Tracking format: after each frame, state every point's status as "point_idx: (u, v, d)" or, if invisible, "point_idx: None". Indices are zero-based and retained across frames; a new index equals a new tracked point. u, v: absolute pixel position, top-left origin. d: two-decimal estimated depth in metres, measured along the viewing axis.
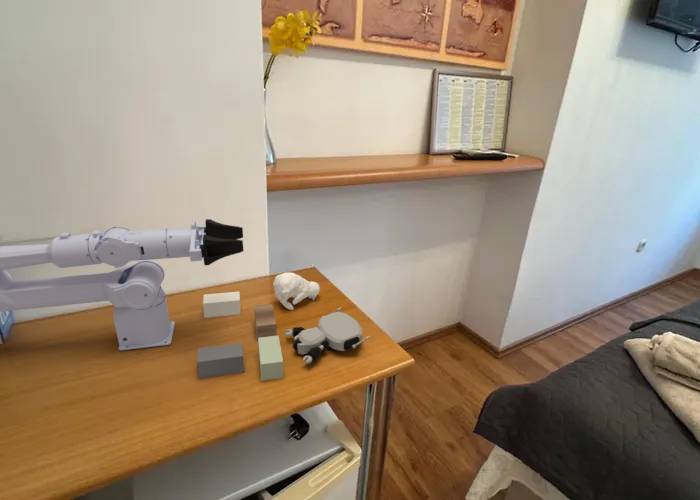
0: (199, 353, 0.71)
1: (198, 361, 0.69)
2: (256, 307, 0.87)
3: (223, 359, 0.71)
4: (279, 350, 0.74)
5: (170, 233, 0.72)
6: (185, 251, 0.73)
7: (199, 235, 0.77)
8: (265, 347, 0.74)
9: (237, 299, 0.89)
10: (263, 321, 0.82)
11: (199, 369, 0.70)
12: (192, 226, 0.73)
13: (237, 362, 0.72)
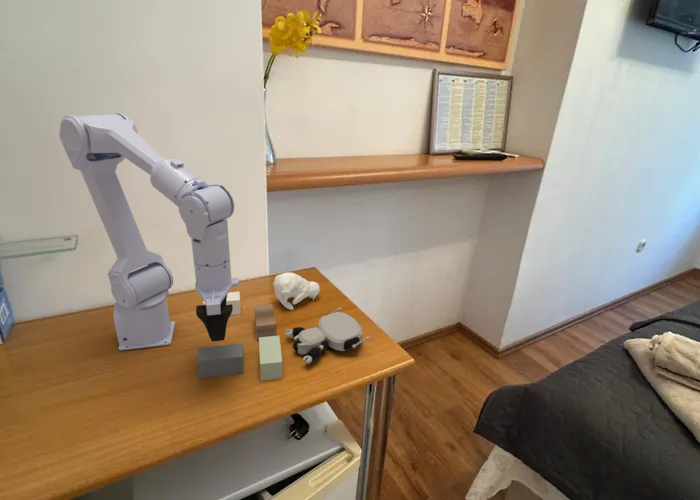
0: (199, 353, 0.72)
1: (198, 361, 0.70)
2: (256, 307, 0.87)
3: (223, 360, 0.71)
4: (279, 350, 0.73)
5: (227, 265, 0.64)
6: (207, 283, 0.63)
7: None
8: (265, 347, 0.74)
9: (237, 299, 0.89)
10: (263, 321, 0.82)
11: (199, 369, 0.70)
12: (235, 284, 0.66)
13: (237, 362, 0.72)
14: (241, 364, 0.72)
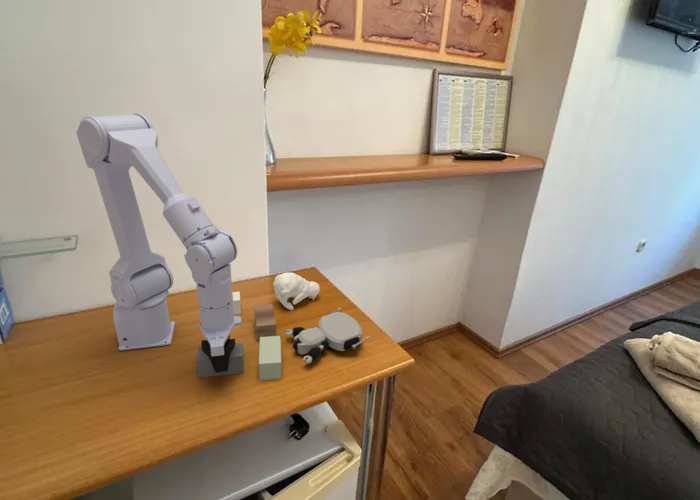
0: (199, 351, 0.71)
1: (197, 359, 0.70)
2: (256, 307, 0.86)
3: None
4: (279, 351, 0.73)
5: (230, 307, 0.67)
6: (211, 324, 0.66)
7: None
8: (265, 347, 0.74)
9: (237, 299, 0.89)
10: (263, 321, 0.82)
11: (198, 367, 0.70)
12: (238, 323, 0.70)
13: (236, 362, 0.71)
14: (241, 363, 0.72)
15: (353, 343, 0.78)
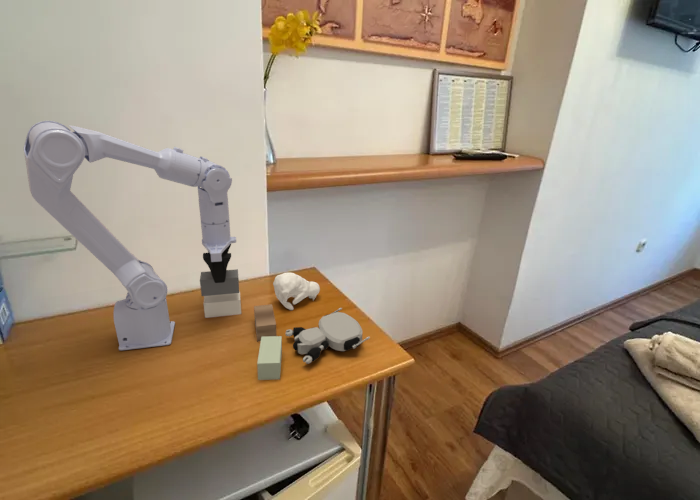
0: (201, 275, 0.86)
1: (201, 280, 0.84)
2: (256, 307, 0.86)
3: None
4: (278, 351, 0.73)
5: (227, 225, 0.81)
6: (211, 238, 0.80)
7: None
8: (266, 347, 0.74)
9: (238, 299, 0.89)
10: (263, 321, 0.82)
11: (201, 287, 0.84)
12: (233, 241, 0.83)
13: (233, 282, 0.86)
14: (237, 284, 0.86)
15: (353, 343, 0.78)
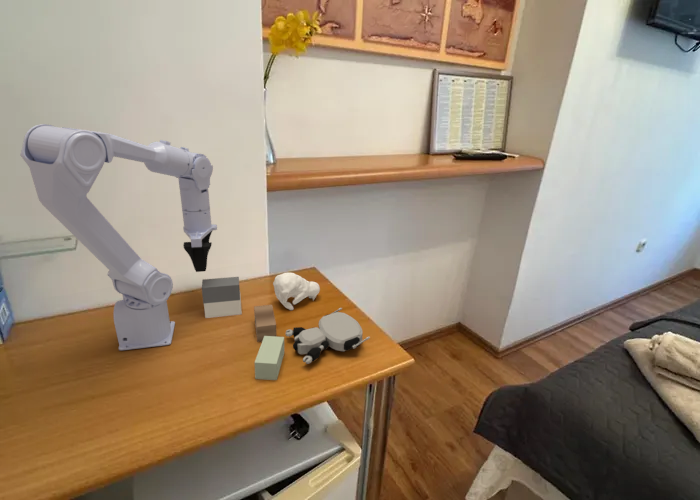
0: (203, 282, 0.87)
1: (202, 287, 0.85)
2: (256, 308, 0.86)
3: (223, 287, 0.86)
4: (278, 352, 0.73)
5: (207, 212, 0.84)
6: (192, 225, 0.83)
7: None
8: (266, 346, 0.74)
9: None
10: (263, 321, 0.82)
11: (203, 294, 0.86)
12: (214, 228, 0.87)
13: (234, 290, 0.87)
14: (238, 291, 0.88)
15: (353, 343, 0.78)
